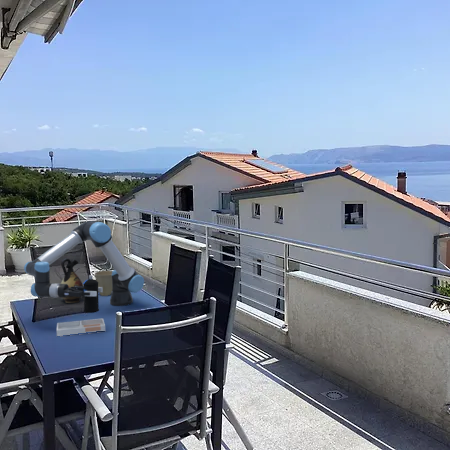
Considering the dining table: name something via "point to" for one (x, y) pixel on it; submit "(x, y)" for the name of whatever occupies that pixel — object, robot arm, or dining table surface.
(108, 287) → the plant pot
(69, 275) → the ceramic jug
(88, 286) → the aerosol can
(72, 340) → the dining table surface
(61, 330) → the tray
